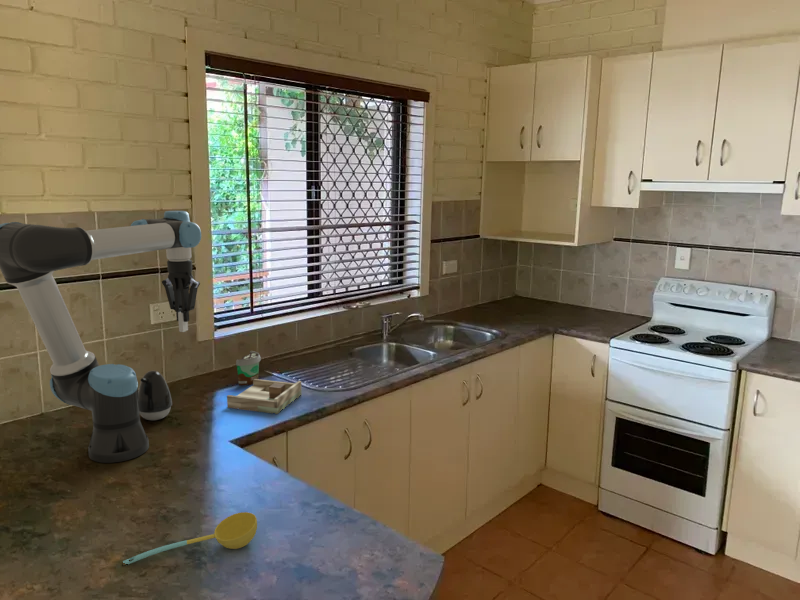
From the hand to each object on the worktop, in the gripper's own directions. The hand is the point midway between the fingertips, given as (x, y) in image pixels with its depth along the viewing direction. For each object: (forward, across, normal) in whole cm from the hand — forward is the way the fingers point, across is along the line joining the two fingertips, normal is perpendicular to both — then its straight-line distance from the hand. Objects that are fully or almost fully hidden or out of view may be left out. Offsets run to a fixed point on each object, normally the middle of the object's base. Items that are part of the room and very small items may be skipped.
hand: (183, 330), depth 203 cm
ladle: (+25, -52, +71) cm, 92 cm away
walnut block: (+22, -29, -8) cm, 38 cm away
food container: (+25, -10, -24) cm, 36 cm away
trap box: (+24, -25, -8) cm, 36 cm away
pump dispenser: (+25, +1, +15) cm, 29 cm away
